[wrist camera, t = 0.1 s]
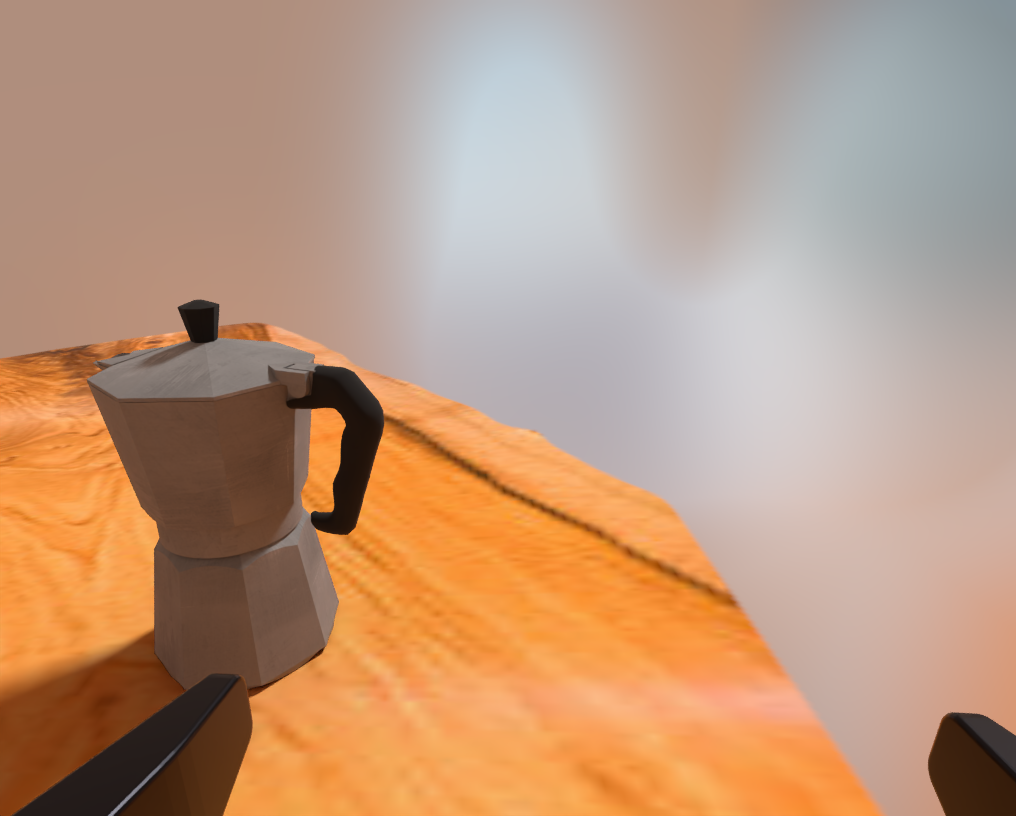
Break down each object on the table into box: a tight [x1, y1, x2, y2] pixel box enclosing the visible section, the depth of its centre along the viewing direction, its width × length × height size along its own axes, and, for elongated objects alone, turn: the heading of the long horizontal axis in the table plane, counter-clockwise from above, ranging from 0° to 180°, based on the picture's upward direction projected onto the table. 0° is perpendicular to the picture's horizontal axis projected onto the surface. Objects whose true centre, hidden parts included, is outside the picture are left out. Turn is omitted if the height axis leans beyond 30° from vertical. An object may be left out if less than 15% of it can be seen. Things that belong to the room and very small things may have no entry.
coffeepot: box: [87, 300, 384, 690], centre depth 30 cm, size 15×9×18 cm, turn 72°
